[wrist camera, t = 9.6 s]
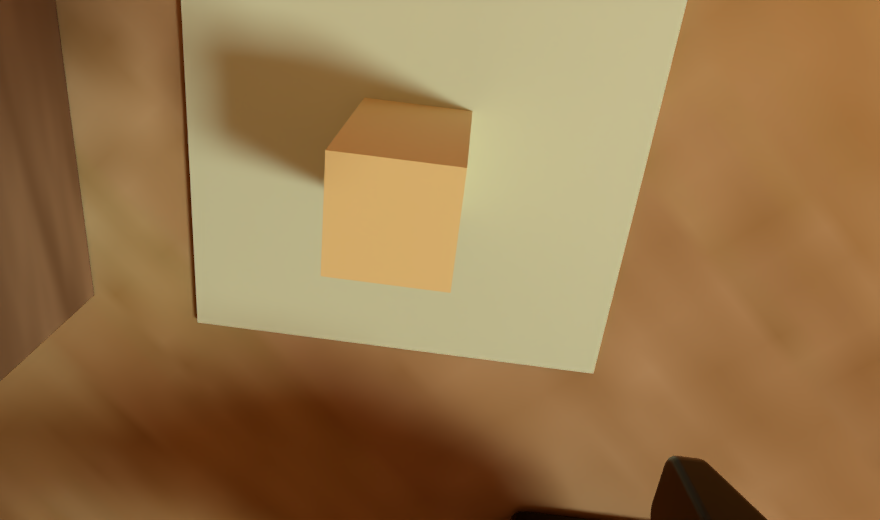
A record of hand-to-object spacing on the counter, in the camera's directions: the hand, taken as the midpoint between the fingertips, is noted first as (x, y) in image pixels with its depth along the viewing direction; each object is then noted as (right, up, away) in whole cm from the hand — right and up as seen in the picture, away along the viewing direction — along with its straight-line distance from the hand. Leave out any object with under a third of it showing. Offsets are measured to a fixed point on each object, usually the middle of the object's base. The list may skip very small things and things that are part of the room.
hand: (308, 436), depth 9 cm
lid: (+1, +6, +12) cm, 13 cm away
